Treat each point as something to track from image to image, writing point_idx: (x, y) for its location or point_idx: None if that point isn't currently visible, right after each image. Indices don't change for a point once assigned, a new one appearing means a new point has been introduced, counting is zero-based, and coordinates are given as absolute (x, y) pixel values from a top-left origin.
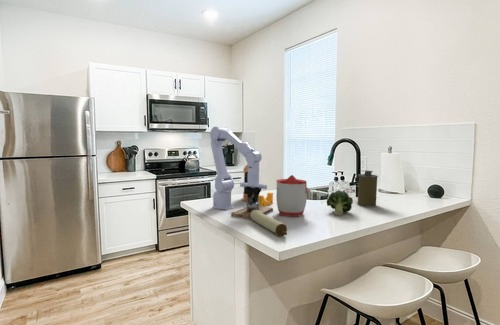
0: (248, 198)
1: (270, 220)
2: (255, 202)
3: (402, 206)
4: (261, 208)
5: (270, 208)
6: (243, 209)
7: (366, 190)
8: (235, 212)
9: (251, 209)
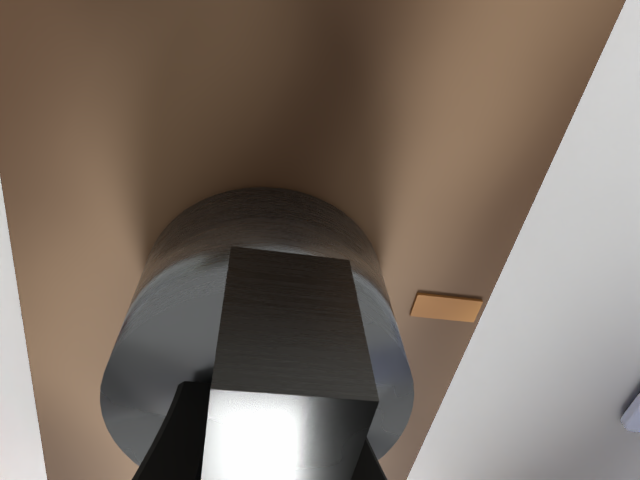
0: (329, 373)
1: None
2: None
3: None
4: None
5: (64, 460)
6: (448, 278)
7: None
8: (569, 6)
9: (245, 209)
